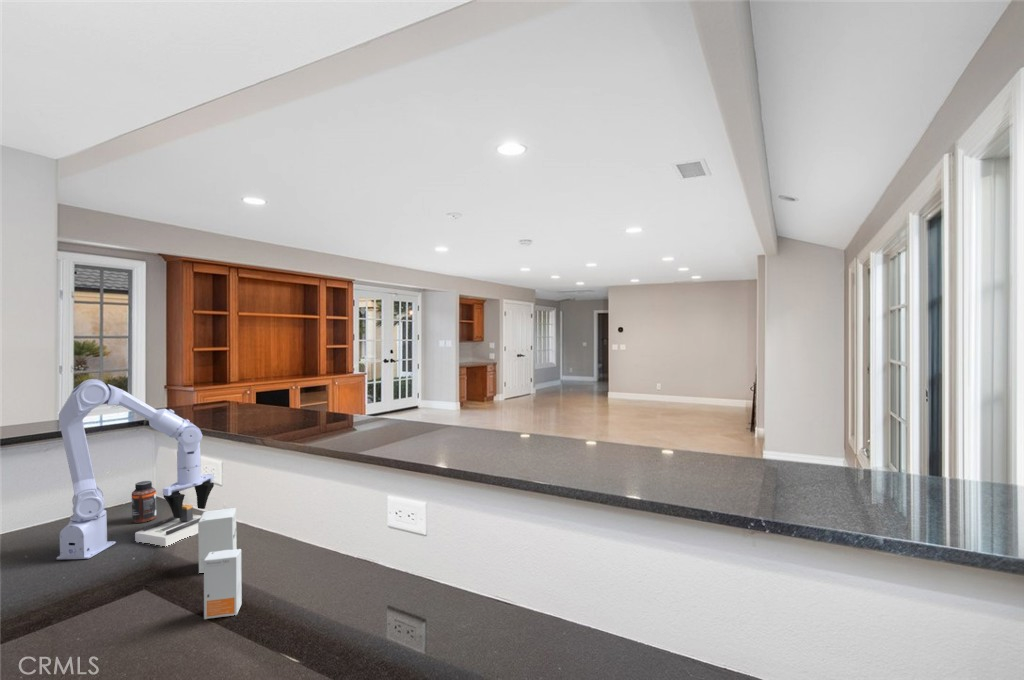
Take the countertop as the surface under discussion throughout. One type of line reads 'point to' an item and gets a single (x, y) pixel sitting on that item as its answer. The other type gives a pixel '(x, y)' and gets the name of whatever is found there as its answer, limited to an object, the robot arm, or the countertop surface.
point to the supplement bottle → (143, 502)
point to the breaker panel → (168, 531)
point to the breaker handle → (187, 513)
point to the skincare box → (222, 583)
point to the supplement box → (216, 533)
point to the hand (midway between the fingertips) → (189, 512)
